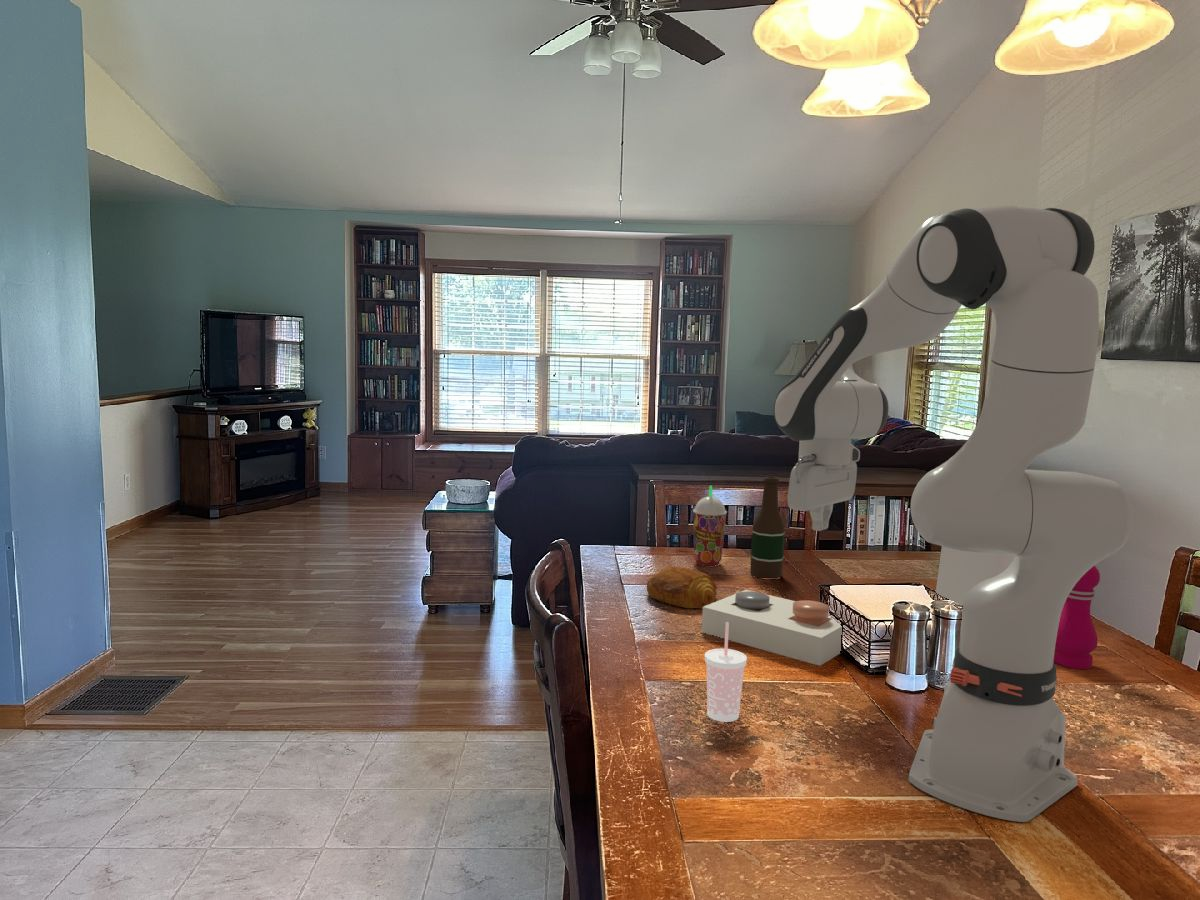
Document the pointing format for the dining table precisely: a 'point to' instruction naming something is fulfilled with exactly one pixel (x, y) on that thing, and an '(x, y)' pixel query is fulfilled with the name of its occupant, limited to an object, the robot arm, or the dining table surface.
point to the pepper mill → (1077, 625)
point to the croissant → (682, 587)
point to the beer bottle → (768, 534)
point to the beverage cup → (724, 681)
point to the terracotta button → (810, 612)
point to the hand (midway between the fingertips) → (820, 529)
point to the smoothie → (709, 530)
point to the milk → (967, 571)
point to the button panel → (774, 629)
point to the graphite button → (752, 600)
